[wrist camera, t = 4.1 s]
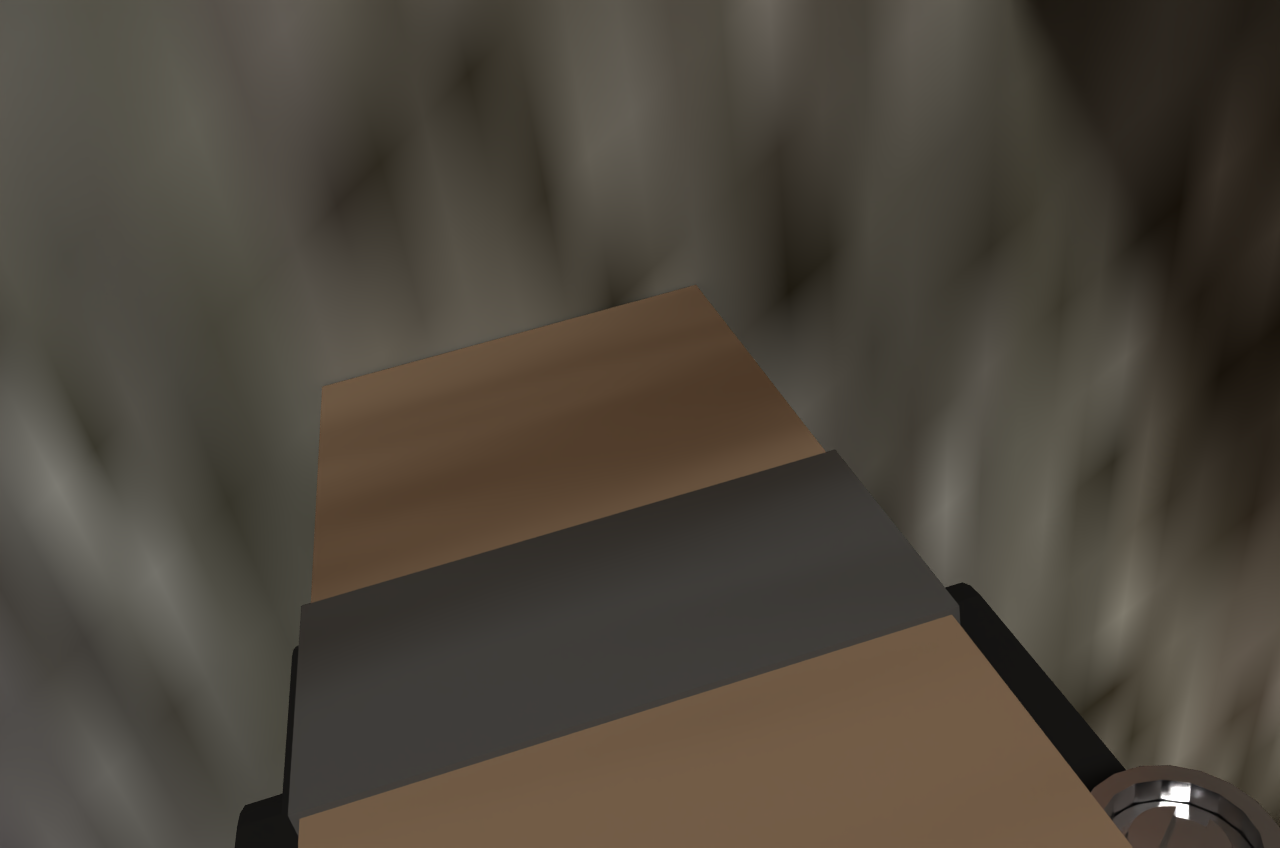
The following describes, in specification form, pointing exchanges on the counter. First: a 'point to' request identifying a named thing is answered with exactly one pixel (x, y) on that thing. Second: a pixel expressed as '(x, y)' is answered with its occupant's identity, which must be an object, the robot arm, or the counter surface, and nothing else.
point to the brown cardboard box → (636, 619)
